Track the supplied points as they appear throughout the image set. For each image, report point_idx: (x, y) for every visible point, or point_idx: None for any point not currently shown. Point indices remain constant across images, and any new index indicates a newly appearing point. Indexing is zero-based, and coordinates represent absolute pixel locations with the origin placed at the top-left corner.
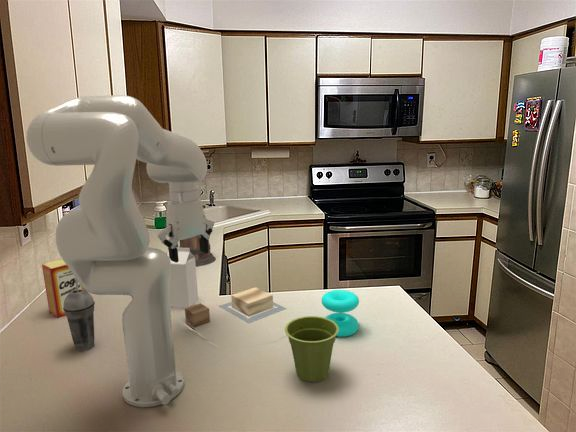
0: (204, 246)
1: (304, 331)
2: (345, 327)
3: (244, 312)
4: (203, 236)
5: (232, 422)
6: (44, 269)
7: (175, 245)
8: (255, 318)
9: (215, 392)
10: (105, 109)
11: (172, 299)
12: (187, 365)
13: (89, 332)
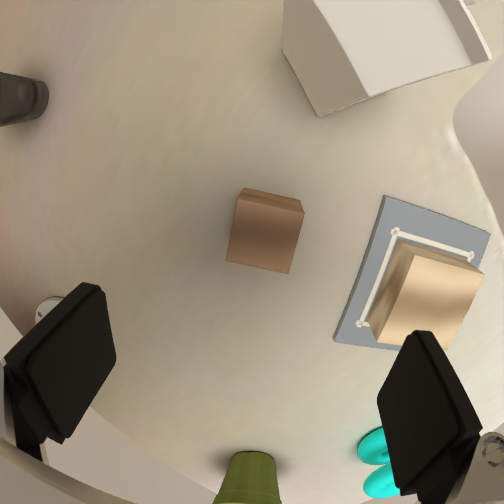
0: (393, 432)
1: (266, 492)
2: (367, 463)
3: (376, 303)
4: (441, 495)
5: (126, 432)
6: None
7: (40, 456)
8: (363, 337)
9: (135, 403)
10: None
11: (292, 56)
12: (134, 337)
13: (9, 123)
